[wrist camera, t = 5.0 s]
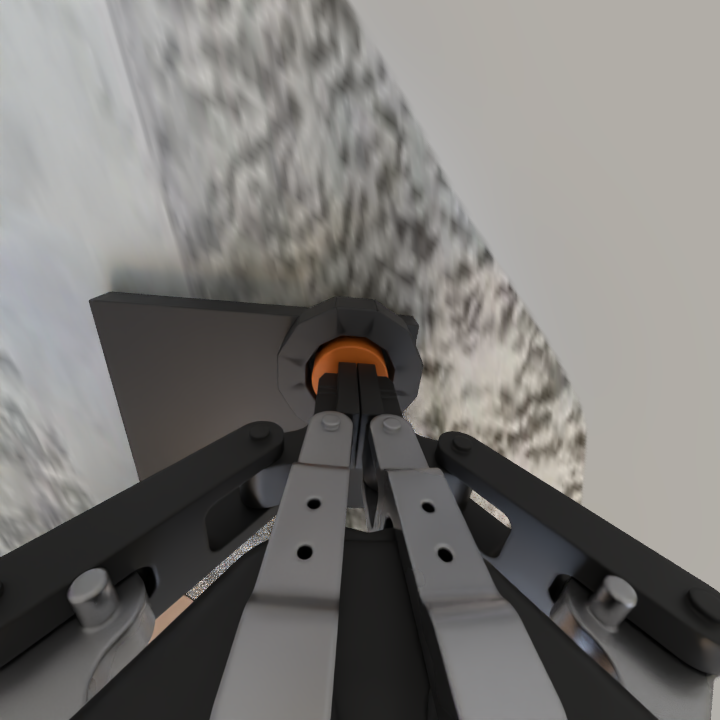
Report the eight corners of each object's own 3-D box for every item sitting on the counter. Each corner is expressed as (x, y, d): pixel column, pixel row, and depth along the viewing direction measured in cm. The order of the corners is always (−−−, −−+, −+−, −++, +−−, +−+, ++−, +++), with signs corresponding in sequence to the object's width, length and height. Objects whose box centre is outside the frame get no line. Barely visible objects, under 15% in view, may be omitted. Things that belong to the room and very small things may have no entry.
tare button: (313, 389, 15) (310, 411, 14) (315, 327, 14) (312, 343, 12) (379, 393, 16) (383, 414, 14) (388, 332, 14) (393, 349, 13)
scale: (157, 483, 20) (128, 527, 17) (103, 267, 14) (46, 282, 11) (382, 490, 21) (388, 533, 18) (418, 294, 15) (434, 314, 12)
